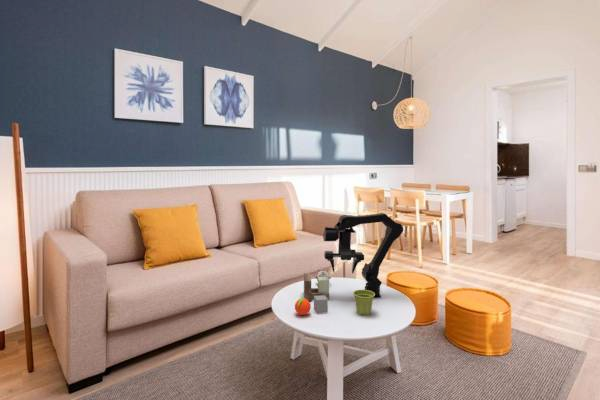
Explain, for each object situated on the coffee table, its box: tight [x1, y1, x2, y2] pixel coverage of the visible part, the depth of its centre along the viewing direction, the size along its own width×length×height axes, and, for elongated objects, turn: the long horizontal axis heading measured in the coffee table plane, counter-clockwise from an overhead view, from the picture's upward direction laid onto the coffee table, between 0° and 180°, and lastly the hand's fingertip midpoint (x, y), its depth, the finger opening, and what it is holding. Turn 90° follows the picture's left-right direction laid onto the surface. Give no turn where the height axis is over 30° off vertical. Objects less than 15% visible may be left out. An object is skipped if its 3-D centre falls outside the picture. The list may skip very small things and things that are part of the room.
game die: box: [314, 269, 332, 282], centre depth 195 cm, size 9×8×10 cm
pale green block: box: [317, 277, 330, 294], centre depth 177 cm, size 5×5×9 cm
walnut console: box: [303, 272, 330, 303], centre depth 177 cm, size 12×12×10 cm
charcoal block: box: [313, 295, 329, 314], centre depth 160 cm, size 5×5×6 cm
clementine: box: [294, 297, 312, 316], centre depth 156 cm, size 8×7×7 cm
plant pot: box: [352, 289, 375, 316], centre depth 159 cm, size 9×9×9 cm
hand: (343, 272), depth 176 cm, fingers open, 9 cm apart
